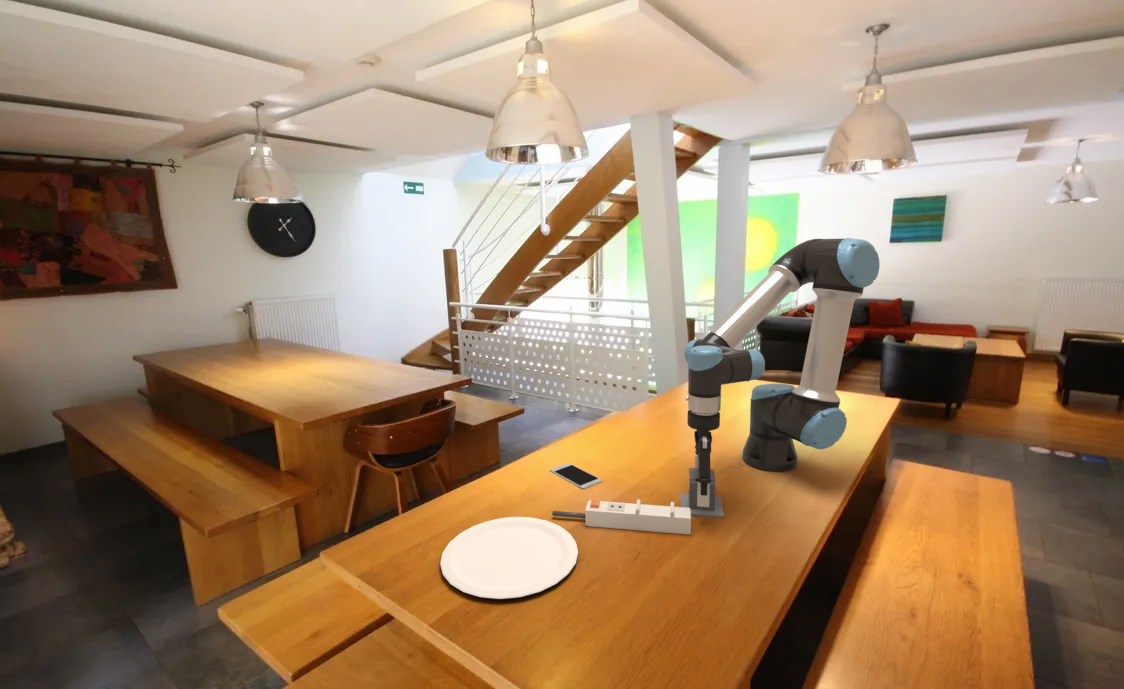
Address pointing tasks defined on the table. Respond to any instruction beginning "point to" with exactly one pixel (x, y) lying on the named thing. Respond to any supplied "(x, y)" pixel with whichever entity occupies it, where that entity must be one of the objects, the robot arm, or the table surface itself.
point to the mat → (704, 513)
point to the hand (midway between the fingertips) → (701, 492)
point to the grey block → (694, 486)
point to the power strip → (634, 516)
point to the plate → (509, 558)
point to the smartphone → (576, 476)
